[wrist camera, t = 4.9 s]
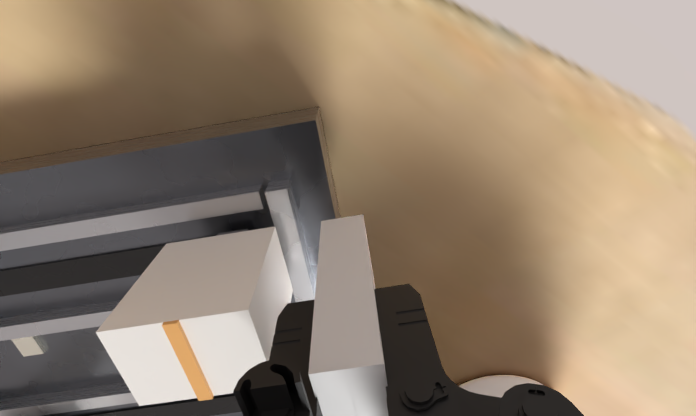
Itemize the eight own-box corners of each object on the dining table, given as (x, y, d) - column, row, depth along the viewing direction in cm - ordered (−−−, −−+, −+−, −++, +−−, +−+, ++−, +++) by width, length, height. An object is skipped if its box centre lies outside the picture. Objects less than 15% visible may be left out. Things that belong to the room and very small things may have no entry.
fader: (202, 285, 16) (137, 409, 11) (179, 227, 15) (93, 335, 10) (296, 271, 16) (275, 390, 11) (279, 211, 15) (247, 312, 9)
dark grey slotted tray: (8, 449, 25) (-40, 511, 22) (-211, 199, 17) (-336, 238, 14) (376, 400, 23) (382, 459, 20) (319, 106, 16) (314, 127, 13)
